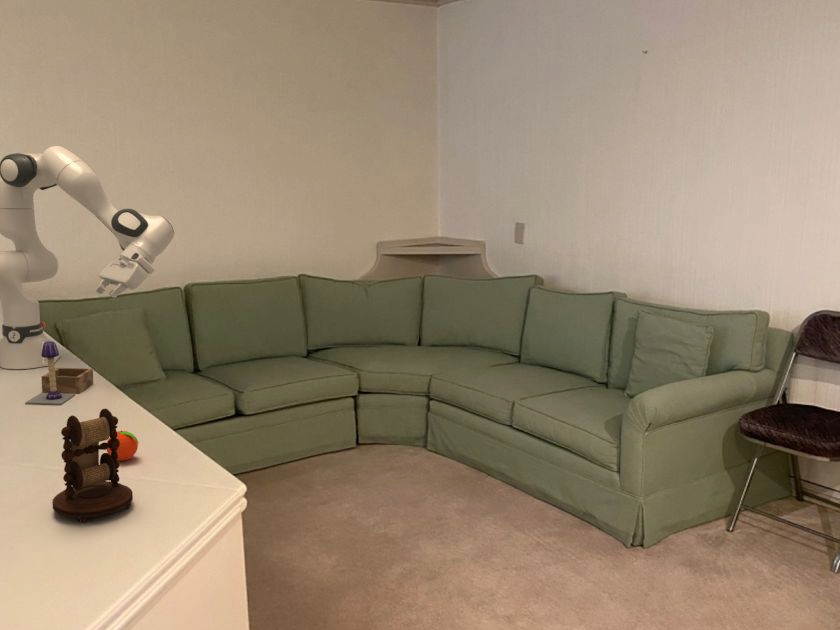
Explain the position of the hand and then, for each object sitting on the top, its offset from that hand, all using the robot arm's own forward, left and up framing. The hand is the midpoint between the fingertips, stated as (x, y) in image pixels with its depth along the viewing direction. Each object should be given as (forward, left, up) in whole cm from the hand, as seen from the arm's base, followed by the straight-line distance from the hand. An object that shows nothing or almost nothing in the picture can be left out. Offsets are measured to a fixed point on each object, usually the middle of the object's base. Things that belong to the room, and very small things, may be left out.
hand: (104, 294), depth 237 cm
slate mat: (+14, -12, -29) cm, 34 cm away
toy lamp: (+13, -11, -29) cm, 34 cm away
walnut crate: (+1, -12, -29) cm, 32 cm away
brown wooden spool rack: (+88, +28, -30) cm, 97 cm away
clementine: (+61, +25, -30) cm, 72 cm away
